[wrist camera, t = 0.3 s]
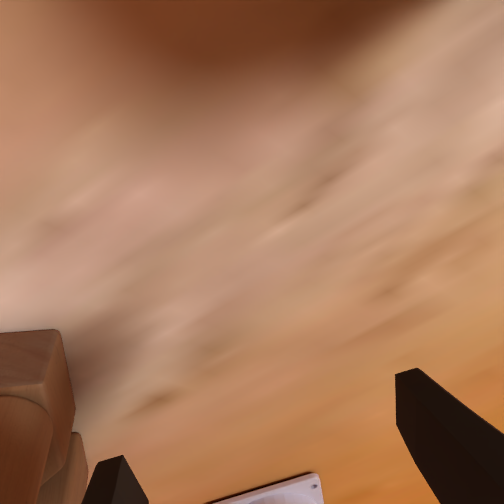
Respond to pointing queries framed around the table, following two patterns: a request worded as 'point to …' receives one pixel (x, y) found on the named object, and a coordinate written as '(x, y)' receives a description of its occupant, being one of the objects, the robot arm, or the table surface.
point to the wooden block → (38, 423)
